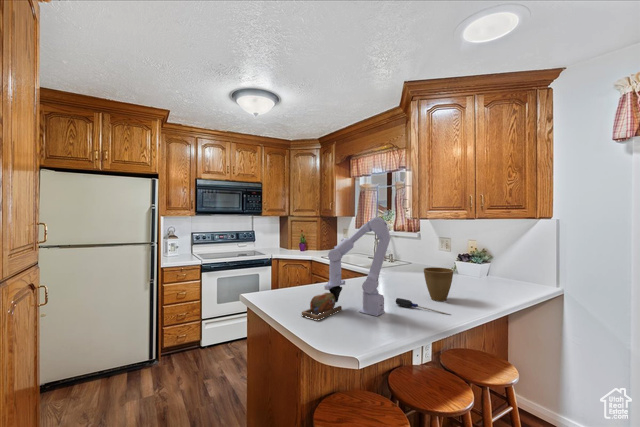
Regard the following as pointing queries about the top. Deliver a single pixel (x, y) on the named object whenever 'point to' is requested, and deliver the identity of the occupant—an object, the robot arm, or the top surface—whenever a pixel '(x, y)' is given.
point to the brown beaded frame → (308, 313)
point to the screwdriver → (413, 305)
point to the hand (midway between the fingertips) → (335, 301)
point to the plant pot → (438, 282)
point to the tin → (322, 303)
